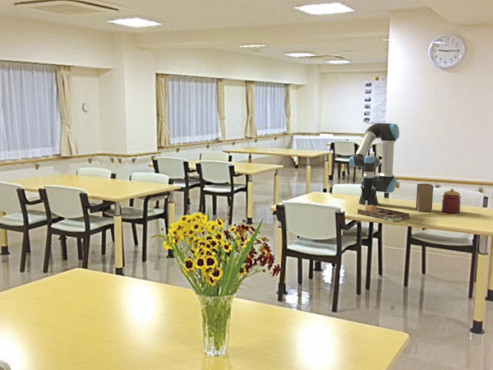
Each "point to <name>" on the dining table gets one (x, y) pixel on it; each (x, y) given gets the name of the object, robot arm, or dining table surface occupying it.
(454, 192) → the canister
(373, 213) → the trap tray
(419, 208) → the block
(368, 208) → the terracotta cube
